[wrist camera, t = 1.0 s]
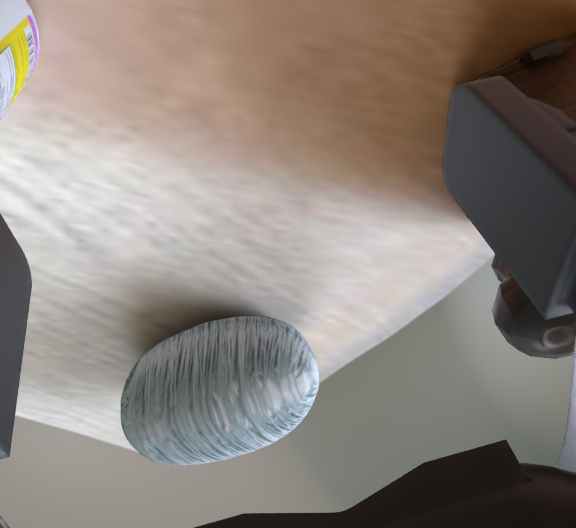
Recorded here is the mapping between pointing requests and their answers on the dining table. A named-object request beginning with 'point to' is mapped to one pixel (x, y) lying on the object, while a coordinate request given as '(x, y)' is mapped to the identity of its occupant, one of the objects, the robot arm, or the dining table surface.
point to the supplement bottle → (16, 49)
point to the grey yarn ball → (219, 391)
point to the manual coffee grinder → (510, 297)
